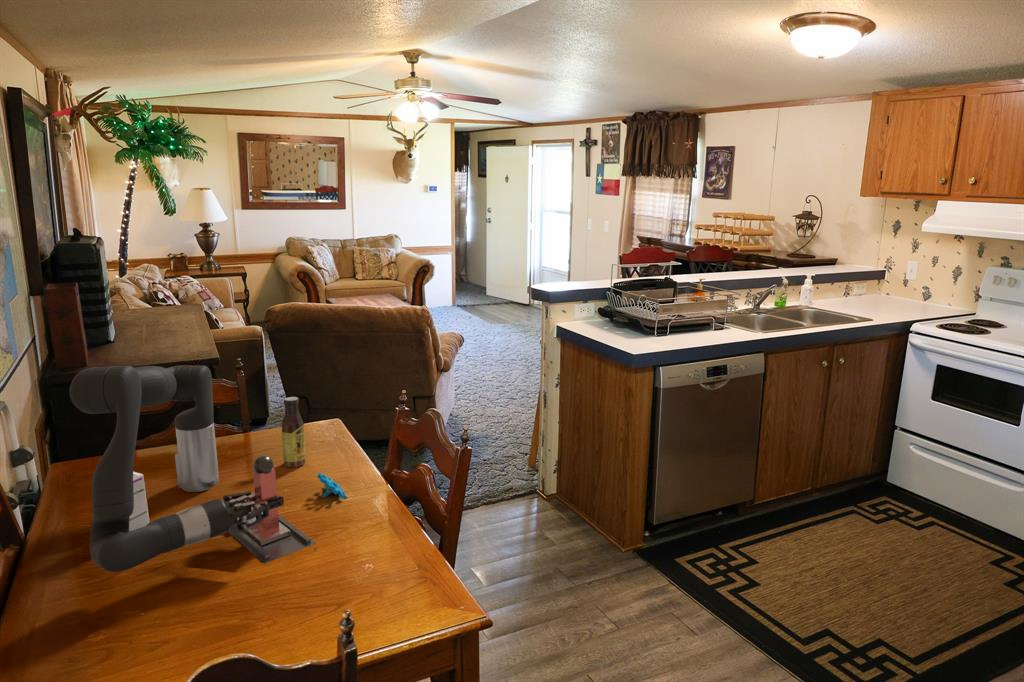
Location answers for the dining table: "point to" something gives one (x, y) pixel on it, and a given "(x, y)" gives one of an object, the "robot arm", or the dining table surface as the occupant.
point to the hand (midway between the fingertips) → (278, 497)
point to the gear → (331, 486)
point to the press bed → (273, 542)
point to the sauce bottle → (293, 434)
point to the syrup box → (139, 504)
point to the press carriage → (264, 491)
